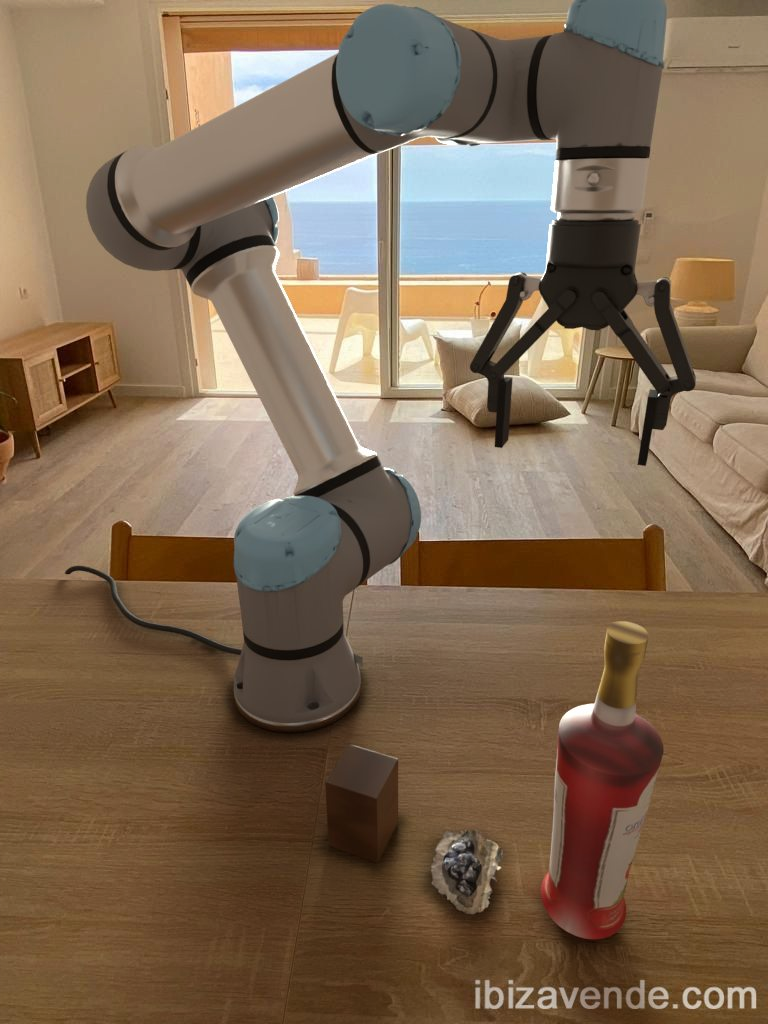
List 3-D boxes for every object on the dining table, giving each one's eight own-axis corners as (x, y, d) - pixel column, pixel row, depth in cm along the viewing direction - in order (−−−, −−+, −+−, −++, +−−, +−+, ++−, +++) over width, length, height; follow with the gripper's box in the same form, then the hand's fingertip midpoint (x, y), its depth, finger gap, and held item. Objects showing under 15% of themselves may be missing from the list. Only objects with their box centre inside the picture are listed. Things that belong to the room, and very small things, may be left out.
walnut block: (328, 845, 64) (324, 781, 61) (351, 805, 69) (348, 743, 65) (378, 864, 63) (376, 798, 59) (398, 821, 67) (398, 758, 63)
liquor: (557, 856, 63) (593, 592, 51) (638, 899, 59) (698, 624, 47) (522, 919, 58) (554, 640, 46) (609, 971, 54) (668, 681, 42)
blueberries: (498, 834, 65) (499, 819, 65) (515, 914, 58) (516, 899, 57) (427, 835, 65) (427, 821, 64) (434, 916, 58) (435, 901, 57)
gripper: (442, 217, 60) (436, 448, 69) (761, 219, 52) (708, 483, 60) (466, 214, 67) (458, 426, 76) (755, 215, 58) (707, 455, 67)
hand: (569, 452), depth 68 cm, fingers open, 13 cm apart
